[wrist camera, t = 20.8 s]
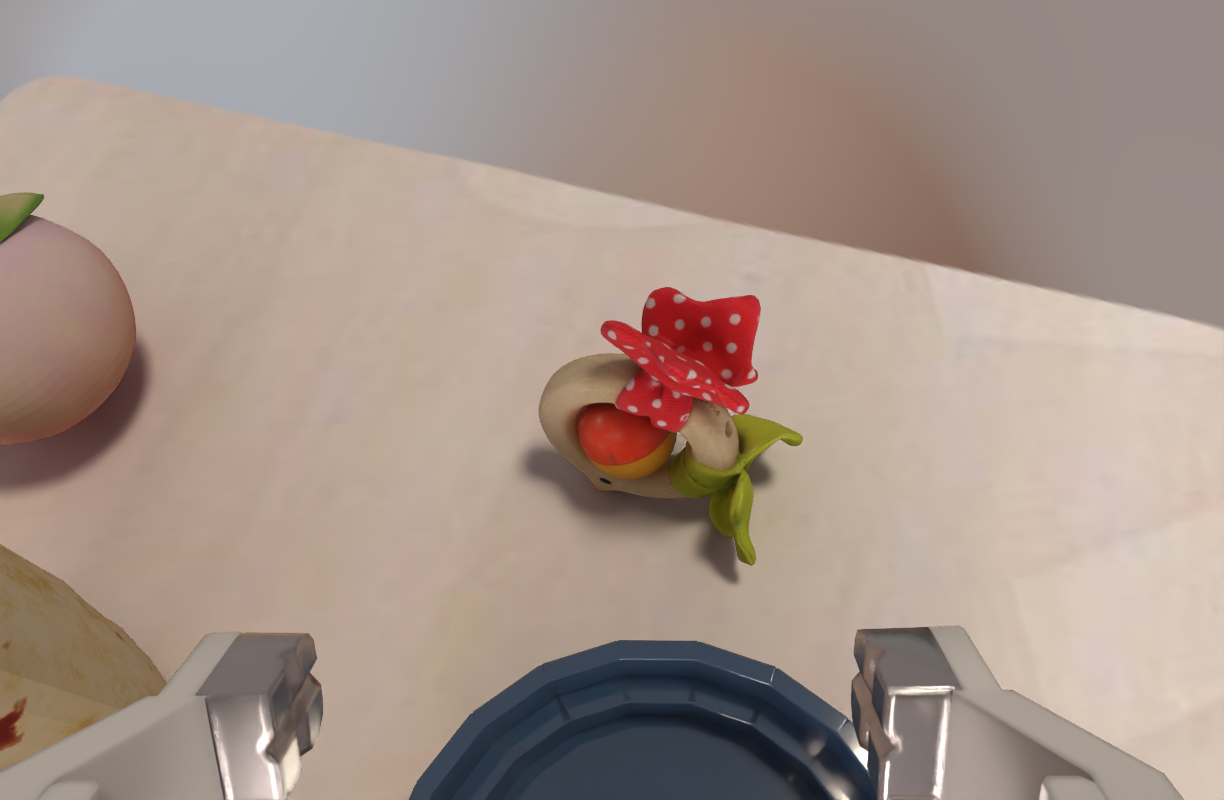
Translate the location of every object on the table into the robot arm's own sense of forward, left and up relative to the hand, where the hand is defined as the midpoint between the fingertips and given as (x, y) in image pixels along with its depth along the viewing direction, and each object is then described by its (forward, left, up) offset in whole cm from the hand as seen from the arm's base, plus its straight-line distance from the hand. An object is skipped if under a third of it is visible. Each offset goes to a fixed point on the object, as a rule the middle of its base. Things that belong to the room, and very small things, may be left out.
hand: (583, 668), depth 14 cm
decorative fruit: (+16, +24, -20) cm, 35 cm away
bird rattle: (+11, -1, -20) cm, 23 cm away
